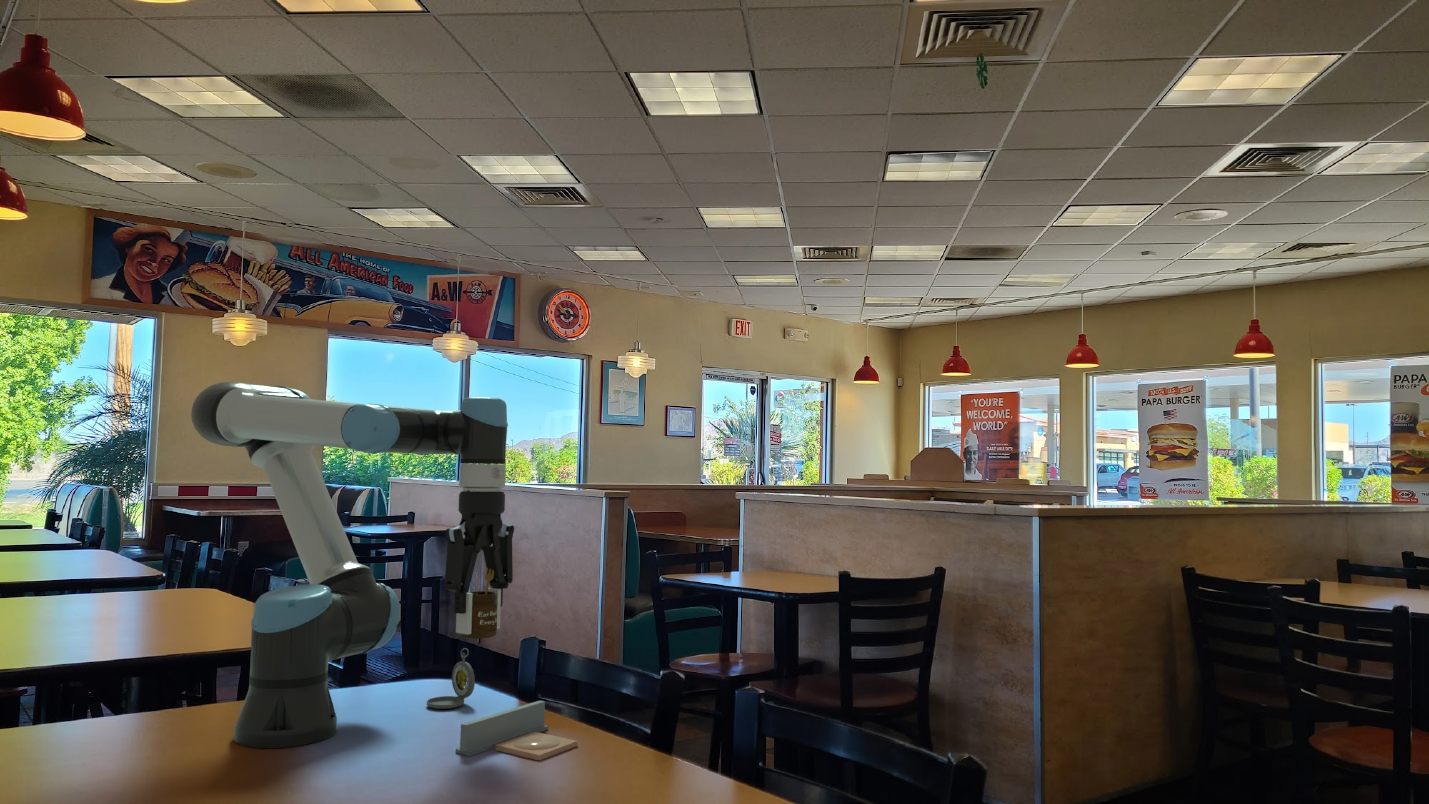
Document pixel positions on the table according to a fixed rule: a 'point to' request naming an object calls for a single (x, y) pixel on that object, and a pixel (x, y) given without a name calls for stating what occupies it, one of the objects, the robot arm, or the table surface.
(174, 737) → the table surface
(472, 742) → the low wall
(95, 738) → the table surface
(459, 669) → the pocket watch
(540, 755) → the coaster
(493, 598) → the utensil holder
